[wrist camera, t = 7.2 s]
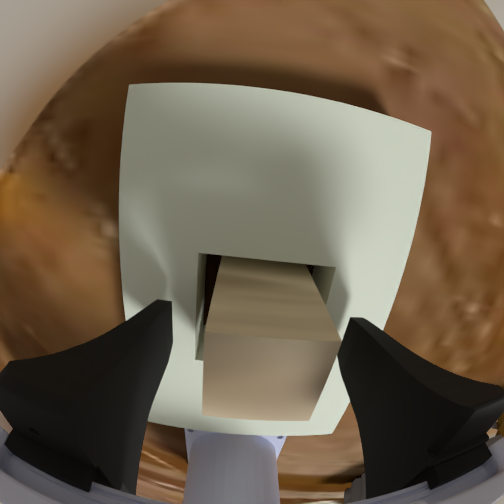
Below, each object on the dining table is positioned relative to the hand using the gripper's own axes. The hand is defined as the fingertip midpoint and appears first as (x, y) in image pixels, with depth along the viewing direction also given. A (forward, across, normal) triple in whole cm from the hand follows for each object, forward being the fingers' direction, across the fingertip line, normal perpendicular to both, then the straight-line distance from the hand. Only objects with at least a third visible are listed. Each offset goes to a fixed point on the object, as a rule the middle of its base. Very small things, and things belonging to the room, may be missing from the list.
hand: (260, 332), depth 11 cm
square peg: (+4, 0, 0) cm, 4 cm away
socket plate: (+4, 0, 0) cm, 4 cm away
